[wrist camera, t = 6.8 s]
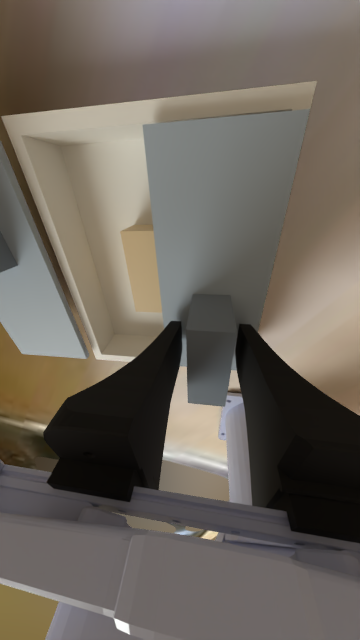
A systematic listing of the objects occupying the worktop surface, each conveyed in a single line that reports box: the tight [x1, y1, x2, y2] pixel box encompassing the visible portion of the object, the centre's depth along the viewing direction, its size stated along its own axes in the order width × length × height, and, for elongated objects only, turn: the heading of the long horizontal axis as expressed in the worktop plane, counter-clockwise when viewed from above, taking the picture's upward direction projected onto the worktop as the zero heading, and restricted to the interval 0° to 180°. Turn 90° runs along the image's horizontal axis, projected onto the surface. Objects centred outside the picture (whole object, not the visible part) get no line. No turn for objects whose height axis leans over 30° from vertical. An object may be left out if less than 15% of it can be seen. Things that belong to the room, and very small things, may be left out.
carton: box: [1, 81, 317, 362], centre depth 12 cm, size 14×12×3 cm
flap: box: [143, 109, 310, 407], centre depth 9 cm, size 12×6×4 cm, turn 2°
